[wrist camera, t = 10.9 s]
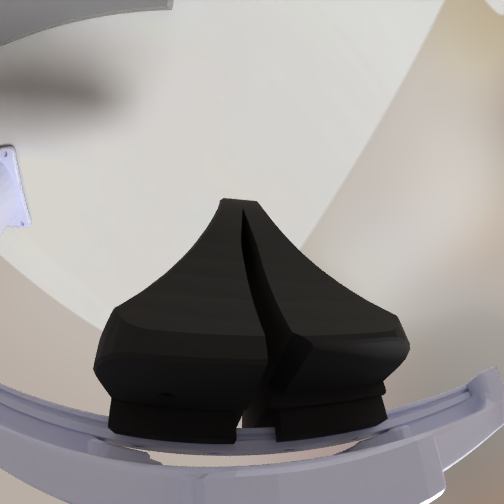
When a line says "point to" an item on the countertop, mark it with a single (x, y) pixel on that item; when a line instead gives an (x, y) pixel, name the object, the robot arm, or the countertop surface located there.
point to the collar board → (62, 13)
